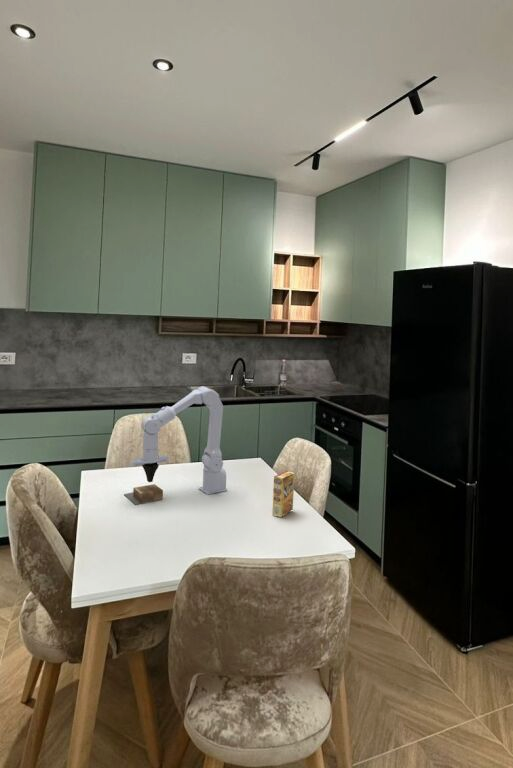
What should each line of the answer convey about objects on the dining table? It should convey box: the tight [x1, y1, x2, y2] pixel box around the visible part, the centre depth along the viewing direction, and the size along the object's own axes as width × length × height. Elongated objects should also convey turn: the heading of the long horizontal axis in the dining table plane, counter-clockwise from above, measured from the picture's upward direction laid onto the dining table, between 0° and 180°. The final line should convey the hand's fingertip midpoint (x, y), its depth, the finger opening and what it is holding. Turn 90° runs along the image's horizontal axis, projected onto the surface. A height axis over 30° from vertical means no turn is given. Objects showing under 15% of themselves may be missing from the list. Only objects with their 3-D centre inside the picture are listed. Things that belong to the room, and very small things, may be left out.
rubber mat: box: [123, 492, 161, 506], centre depth 190 cm, size 10×12×1 cm
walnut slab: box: [132, 483, 164, 503], centre depth 189 cm, size 4×8×9 cm
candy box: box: [271, 470, 295, 518], centre depth 180 cm, size 9×4×15 cm, turn 146°
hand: (149, 481), depth 189 cm, fingers closed
